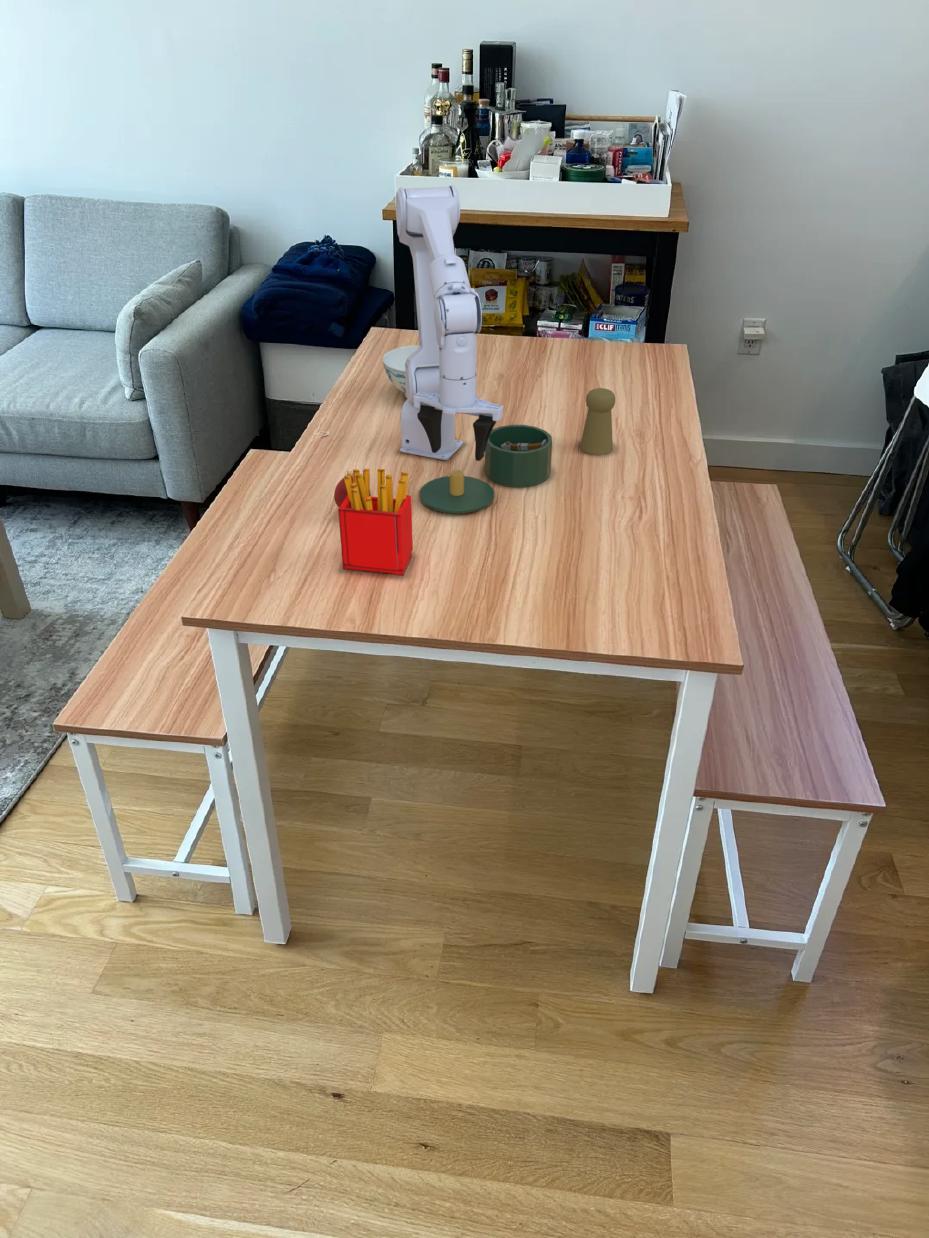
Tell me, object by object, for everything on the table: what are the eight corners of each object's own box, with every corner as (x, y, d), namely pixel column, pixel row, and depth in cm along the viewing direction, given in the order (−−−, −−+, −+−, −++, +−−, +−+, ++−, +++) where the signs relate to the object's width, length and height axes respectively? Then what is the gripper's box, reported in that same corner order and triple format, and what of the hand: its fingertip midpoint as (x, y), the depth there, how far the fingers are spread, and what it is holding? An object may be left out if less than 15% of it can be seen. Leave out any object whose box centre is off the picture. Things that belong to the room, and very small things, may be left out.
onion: (377, 510, 157) (375, 466, 152) (363, 527, 152) (360, 482, 148) (345, 505, 158) (341, 461, 154) (330, 521, 154) (325, 476, 149)
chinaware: (471, 390, 198) (471, 354, 194) (430, 415, 188) (430, 377, 183) (412, 376, 205) (410, 340, 200) (369, 399, 194) (367, 362, 190)
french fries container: (355, 547, 148) (349, 464, 140) (413, 553, 146) (411, 469, 138) (342, 571, 142) (335, 486, 134) (402, 577, 141) (399, 492, 132)
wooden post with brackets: (505, 463, 169) (501, 439, 167) (549, 462, 167) (545, 438, 164) (502, 467, 168) (498, 444, 166) (546, 466, 165) (543, 442, 163)
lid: (407, 508, 158) (406, 482, 155) (438, 476, 167) (437, 451, 164) (477, 522, 154) (477, 496, 151) (504, 489, 163) (505, 464, 161)
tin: (474, 480, 166) (475, 445, 162) (498, 453, 174) (499, 420, 171) (537, 492, 162) (539, 457, 159) (558, 464, 171) (560, 431, 167)
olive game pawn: (611, 456, 174) (617, 398, 167) (578, 453, 175) (582, 396, 168) (614, 442, 179) (619, 385, 172) (581, 439, 180) (586, 383, 173)
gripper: (404, 375, 147) (406, 456, 155) (492, 389, 143) (490, 472, 151) (423, 360, 153) (425, 439, 161) (508, 373, 148) (506, 454, 156)
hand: (457, 454), depth 156 cm, fingers open, 7 cm apart
